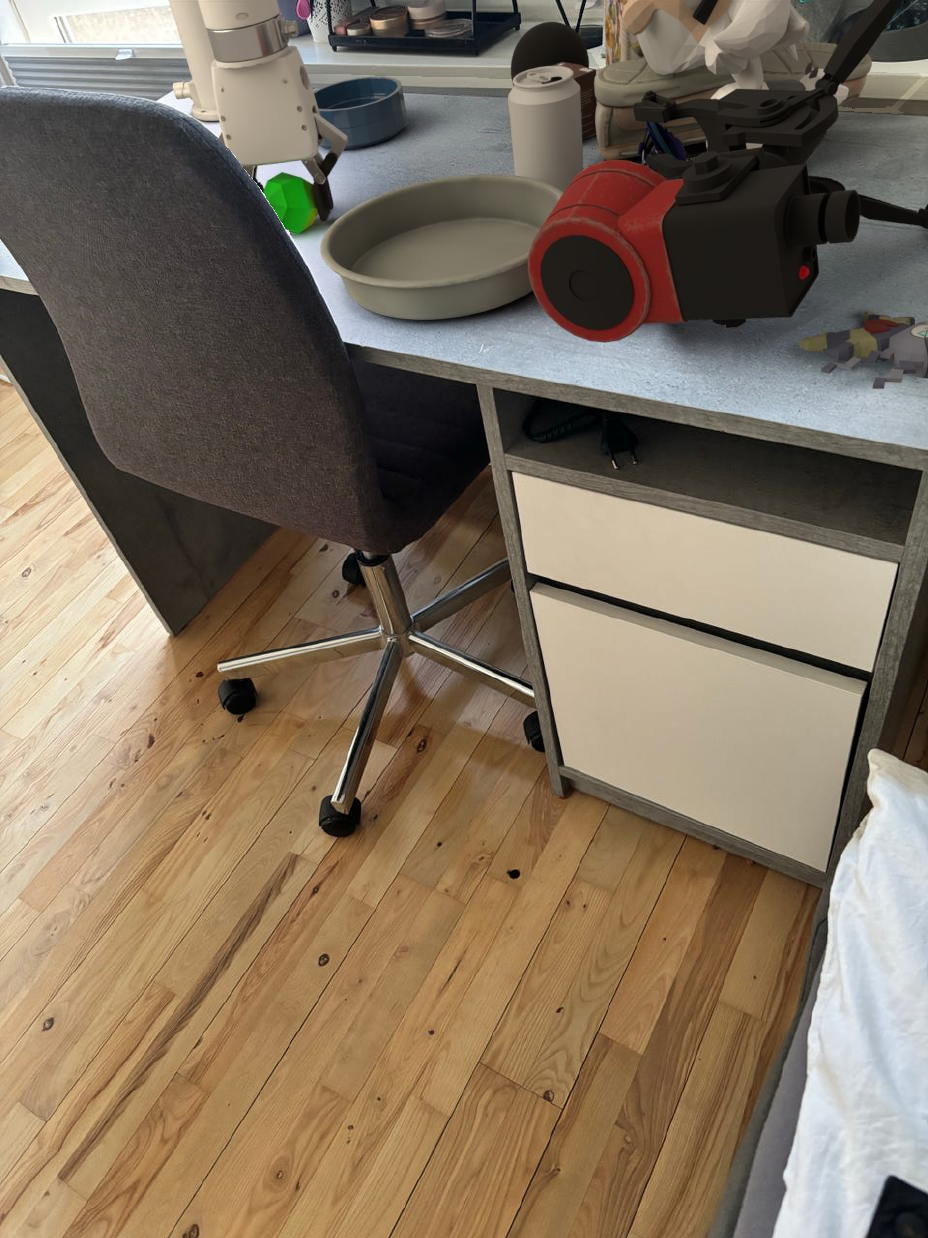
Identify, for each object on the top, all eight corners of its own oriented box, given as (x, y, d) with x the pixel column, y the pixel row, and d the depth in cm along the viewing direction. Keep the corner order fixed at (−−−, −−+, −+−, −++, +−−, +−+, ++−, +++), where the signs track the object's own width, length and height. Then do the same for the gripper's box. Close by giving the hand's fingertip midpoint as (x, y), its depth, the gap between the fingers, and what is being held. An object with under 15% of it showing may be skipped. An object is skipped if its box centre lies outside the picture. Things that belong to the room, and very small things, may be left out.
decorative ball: (605, 108, 119) (603, 19, 112) (538, 129, 117) (532, 40, 110) (564, 91, 126) (560, 6, 119) (501, 112, 124) (492, 26, 117)
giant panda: (707, 188, 98) (712, 89, 91) (695, 168, 101) (699, 72, 95) (846, 166, 97) (863, 65, 90) (829, 147, 101) (844, 49, 94)
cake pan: (567, 201, 99) (564, 157, 96) (585, 312, 82) (583, 263, 79) (343, 231, 101) (334, 189, 98) (316, 344, 84) (303, 298, 81)
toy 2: (894, 278, 76) (1079, 304, 64) (890, 324, 78) (1069, 357, 66) (764, 332, 71) (940, 371, 59) (764, 380, 73) (933, 427, 61)
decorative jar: (697, 95, 117) (704, -78, 105) (721, 125, 109) (733, -60, 96) (604, 111, 118) (599, -60, 105) (621, 142, 110) (619, -39, 97)
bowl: (301, 154, 123) (290, 114, 119) (328, 119, 131) (319, 81, 128) (395, 147, 120) (388, 105, 116) (417, 112, 129) (411, 72, 125)
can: (565, 210, 99) (558, 86, 90) (504, 204, 102) (492, 84, 93) (595, 182, 103) (592, 62, 94) (536, 177, 106) (528, 60, 98)
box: (529, 140, 115) (524, 75, 110) (565, 125, 117) (562, 60, 112) (562, 150, 111) (558, 82, 106) (599, 134, 113) (597, 67, 108)
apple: (288, 235, 100) (350, 230, 106) (282, 170, 98) (345, 169, 104) (249, 234, 105) (310, 230, 111) (241, 172, 102) (304, 171, 108)
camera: (972, 227, 82) (869, 426, 69) (667, 252, 101) (539, 412, 87) (971, -108, 66) (837, 66, 53) (609, -6, 85) (440, 142, 71)
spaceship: (651, 167, 96) (632, 199, 101) (704, 165, 97) (683, 197, 102) (634, 106, 97) (616, 141, 102) (687, 106, 99) (667, 140, 104)
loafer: (858, 29, 102) (839, 118, 109) (591, 51, 104) (589, 137, 111) (885, 64, 95) (863, 156, 102) (597, 87, 97) (595, 176, 104)
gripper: (338, 18, 94) (374, 198, 106) (178, 42, 96) (231, 214, 109) (325, 39, 88) (364, 225, 101) (156, 63, 91) (215, 241, 104)
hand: (295, 218), depth 105 cm, fingers closed on apple, 6 cm apart
